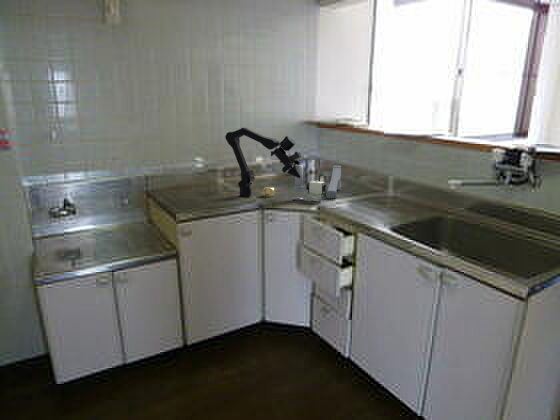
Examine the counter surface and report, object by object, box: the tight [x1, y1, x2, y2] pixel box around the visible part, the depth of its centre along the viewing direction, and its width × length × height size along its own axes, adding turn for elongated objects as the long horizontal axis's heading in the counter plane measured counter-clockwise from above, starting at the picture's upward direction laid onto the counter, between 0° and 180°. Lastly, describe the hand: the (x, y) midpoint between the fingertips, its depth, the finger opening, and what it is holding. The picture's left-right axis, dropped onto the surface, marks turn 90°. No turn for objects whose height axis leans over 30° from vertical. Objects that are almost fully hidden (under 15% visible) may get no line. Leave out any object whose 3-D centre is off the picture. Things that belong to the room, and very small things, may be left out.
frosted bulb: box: [293, 164, 305, 190], centre depth 218 cm, size 5×5×13 cm
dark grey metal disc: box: [293, 196, 306, 202], centre depth 222 cm, size 7×7×1 cm
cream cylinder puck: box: [263, 186, 275, 198], centre depth 231 cm, size 6×6×5 cm
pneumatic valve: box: [305, 179, 329, 202], centre depth 218 cm, size 6×12×12 cm, turn 62°
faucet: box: [325, 165, 342, 199], centre depth 239 cm, size 6×17×30 cm
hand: (301, 176), depth 218 cm, fingers closed on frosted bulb, 5 cm apart
